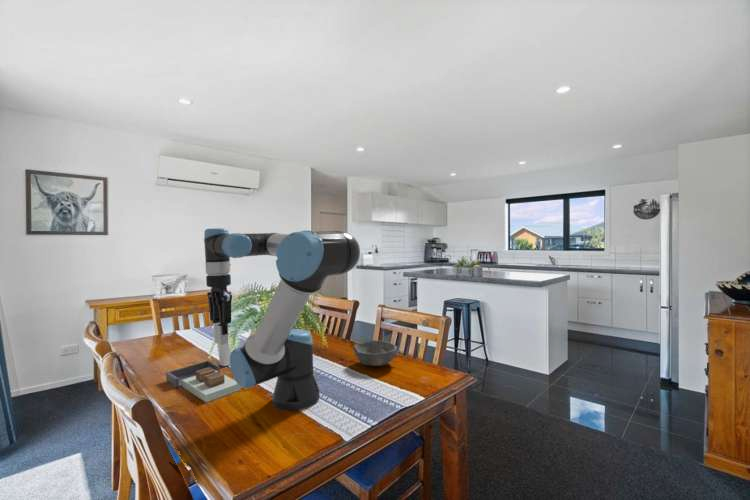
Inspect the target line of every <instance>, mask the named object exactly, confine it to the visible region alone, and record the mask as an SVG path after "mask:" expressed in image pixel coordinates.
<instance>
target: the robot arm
mask: <svg viewBox="0 0 750 500" xmlns="http://www.w3.org/2000/svg"><path fill="white" fill-rule="evenodd" d="M203 242H204V255H205V258H204V259H205V262H204V263H205V274H206V276H205V280H206V281H205V282H206V287H208V288H210V291H209V292H207V300H208V311H209V319H210V321H211V322H212V323H213V334H214V337H213V338H214V344H217V343H218V342H219V343H220V345H223V344H227V343H228V328H229V326H228V325H229V324H232V300H233V299H232V298H233V295H232V294H229V292H228V286H230V285H231V284H232V282H231V280H232V278H231V274H230V273H231V263H230V262H231V259H230V258H233V259H237V258H238V259H240V258H244V257H252V256H253V257H254V256H255V257H257V256H272V257H276V258H277V259H276V260H275V265H276V269H277V271H278V275H279V278H280V281H279V282H278V285H277V287H276V289H275V290H274V291H275V292H274V293H273V296H272V297H271V300H270V302H269V303H268V306H267V308H266V310H265V313H264V315H263V316H262V319H261V321H260V323H259V325H258V328H257V329H256V331H255V332H253V333H251V334H249V336H248V337H247V338H246V339H245V341H244V344H243V346H242V347H237V348H234V349H233V351H232V352H231V354H230V365H229V366H230V371H231V374H232V377H233V380H235V381H236V382H237V384H238V385H239V386H240V388H243V389H249V388H251V387H256V386H257V385H260V384H262V383H263V384H264V383H265V382H268V381H270V380H273V379H275V378H276V383H275V386H274V389H273V394H272V405H273V407H274V408H276V409H279V410H281V411H299V410H304V409H307V408H311V406H314V405H315V404H316V403H318V402H319V400H320V389H319V387H318V383H317V381H316V378H315V376H314V354H313V353H314V352H313V351H314V350H313V349H314V348H313V347H314V346H313V345H314V343H313V337H312V333H311V332H310V331H307V330H305V329H300V328H299V329H297V328H294V326H295V325H296V322H297V321H298V319H299V317H300V315H301V313H302V312H303V310H304V307H305V306H306V303H308V300H309V298H310V297H311V295H312V294H316V293H317V292H319V291H320V290H321V288H322V287H323V285H324V283H325V281H326V280H327V278H328V277H333V276H338V275H343V274H346V273H348V272H350V271H351V270H353V269H354V268H355V266H356V265H357V264H358V263H359V260H360V256H361V250H360V248H361V247H360V245H359V243H358V241H357V239H356V238H355V237H354V236H353V235H352V234H351V233H348V232H346V231H342V230H326V231H325V230H323V231H322V230H321V231H320V230H319V231H312V230H301V231H294V232H291V233H289V234H287V233H285V234H284V233H279V232H265V233H263V232H262V233H261V232H260V233H259V232H258V233H240V232H238V233H236V232H235V233H230V232H229V229H227V228H225V227H224V228H221V227H220V228H219V227H218V228H206V229H205V230H204V237H203Z"/></svg>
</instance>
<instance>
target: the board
mask: <svg viewBox="0 0 750 500" xmlns="http://www.w3.org/2000/svg"><path fill="white" fill-rule="evenodd" d="M215 372H218V371H216V370H215ZM224 381H225V383H223V384H220V385H218V386H215V387H212V388H210V387H208V386H206V385H205V384H204V382H202V383H201V382H200V381H198V380H197V379H196V376H193V377H190V378H187V379H183V380H182V387H181V388H184V389H185V390H187V391H188V392H190V393H191V394H193V395H194V396H196V397H197V398H199V399H200V400H201V401H202V402H204V403H209V402H212V401H214V400H217V399H220V398H222V397H226V396H229V395H230V394H233V393H236V392H238V391H241V387H240V386H239V385H238V384H237V382H236V381H235V379H234V378H231V377H229V376H228V375H226V374H224Z"/></svg>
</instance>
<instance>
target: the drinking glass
mask: <svg viewBox="0 0 750 500" xmlns="http://www.w3.org/2000/svg"><path fill="white" fill-rule="evenodd" d="M228 335H229V333H228ZM216 347H217V352H218V359H219V366H220V367H228V366H230V354H231V351H230V349H229V345H228V343H227V344H223V345H220V343H219V342H218V343H216Z"/></svg>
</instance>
